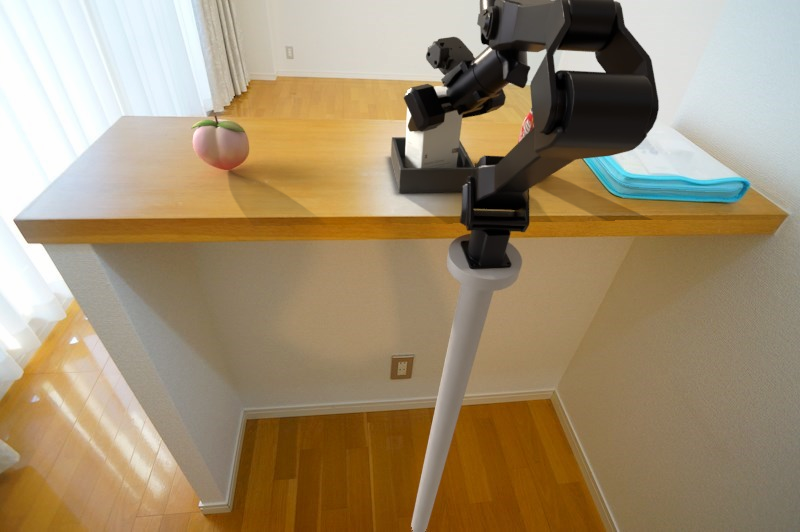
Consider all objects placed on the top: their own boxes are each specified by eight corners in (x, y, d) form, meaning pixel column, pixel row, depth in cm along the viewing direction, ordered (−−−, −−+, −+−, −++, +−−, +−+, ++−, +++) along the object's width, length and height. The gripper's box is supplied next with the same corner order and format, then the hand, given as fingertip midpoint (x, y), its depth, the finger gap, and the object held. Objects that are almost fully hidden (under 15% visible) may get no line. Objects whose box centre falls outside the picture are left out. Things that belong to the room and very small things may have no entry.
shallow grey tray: (471, 191, 74) (475, 168, 71) (399, 193, 73) (400, 169, 70) (455, 158, 84) (458, 137, 81) (390, 158, 83) (391, 137, 80)
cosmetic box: (420, 184, 74) (425, 97, 65) (402, 171, 78) (405, 88, 69) (457, 174, 77) (467, 90, 68) (439, 162, 81) (445, 82, 72)
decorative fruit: (259, 159, 79) (249, 106, 73) (250, 180, 73) (239, 125, 67) (208, 158, 79) (194, 105, 72) (195, 179, 72) (178, 123, 66)
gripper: (507, 16, 64) (448, 72, 77) (417, 26, 54) (367, 89, 68) (535, 83, 65) (471, 128, 78) (451, 105, 55) (395, 152, 69)
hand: (429, 123), depth 73 cm, fingers open, 9 cm apart
